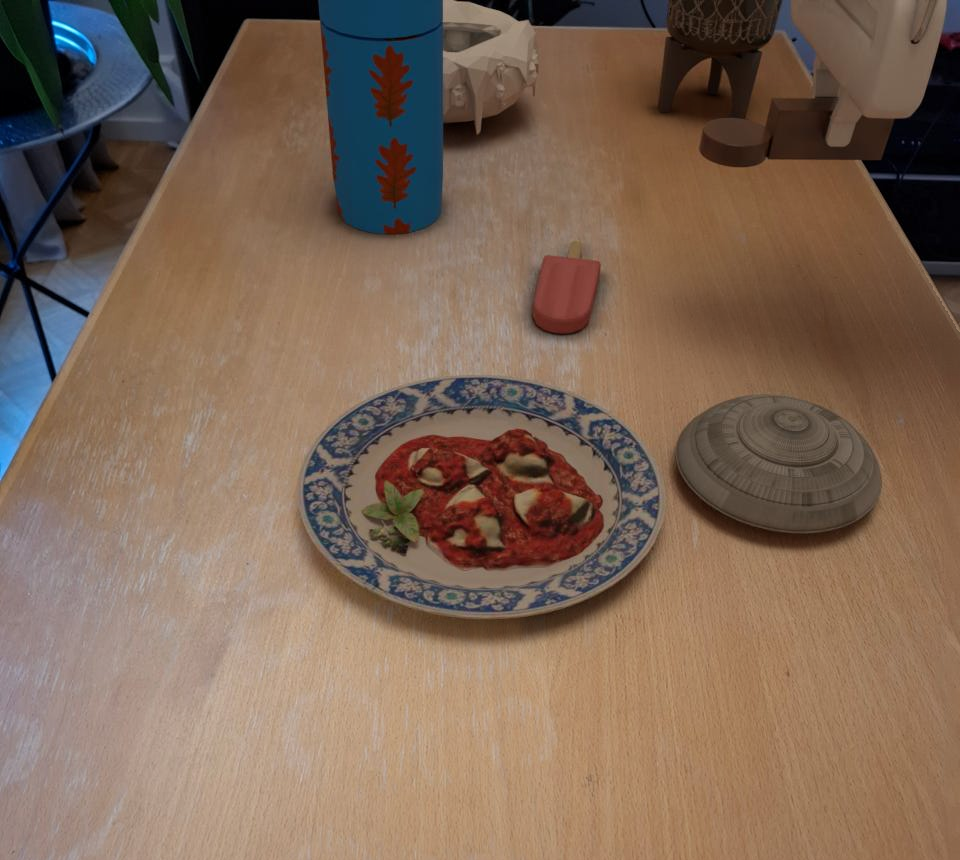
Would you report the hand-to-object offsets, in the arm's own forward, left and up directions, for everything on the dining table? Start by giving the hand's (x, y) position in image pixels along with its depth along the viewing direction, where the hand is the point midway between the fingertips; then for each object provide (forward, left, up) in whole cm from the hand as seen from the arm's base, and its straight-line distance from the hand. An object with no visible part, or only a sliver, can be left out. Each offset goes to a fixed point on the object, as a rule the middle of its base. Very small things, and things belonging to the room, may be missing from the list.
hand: (827, 132), depth 76 cm
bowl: (+27, -44, -16) cm, 55 cm away
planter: (-4, -46, -16) cm, 50 cm away
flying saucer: (+6, +22, -16) cm, 28 cm away
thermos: (+34, -21, -16) cm, 43 cm away
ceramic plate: (+28, +24, -16) cm, 40 cm away
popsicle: (+18, -5, -16) cm, 25 cm away
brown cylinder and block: (+3, 0, -2) cm, 3 cm away
